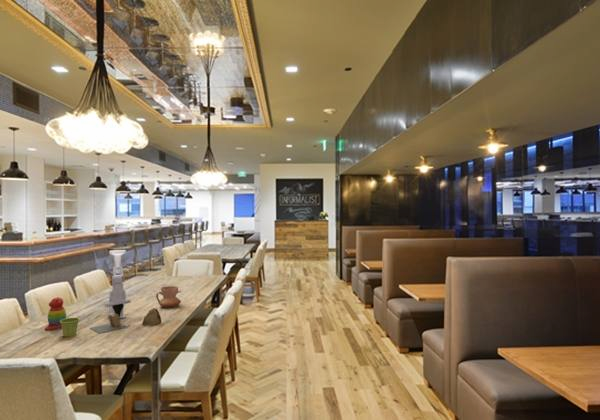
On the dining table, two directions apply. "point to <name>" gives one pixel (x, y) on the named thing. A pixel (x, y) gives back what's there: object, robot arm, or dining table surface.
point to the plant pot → (69, 326)
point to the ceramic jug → (169, 296)
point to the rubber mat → (107, 328)
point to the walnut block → (114, 319)
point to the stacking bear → (55, 314)
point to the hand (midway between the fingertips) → (117, 316)
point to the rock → (152, 317)
